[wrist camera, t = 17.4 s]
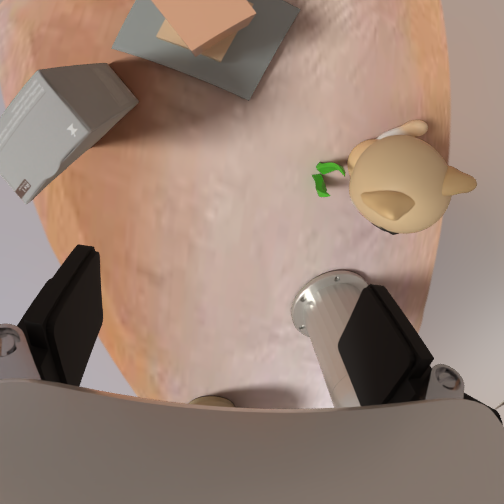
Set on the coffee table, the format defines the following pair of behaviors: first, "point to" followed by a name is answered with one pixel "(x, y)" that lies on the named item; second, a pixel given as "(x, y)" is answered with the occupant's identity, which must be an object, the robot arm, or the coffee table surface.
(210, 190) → the coffee table surface
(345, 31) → the coffee table surface
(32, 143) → the skincare box
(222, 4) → the peach cardboard cube
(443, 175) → the kitten
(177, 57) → the post board
